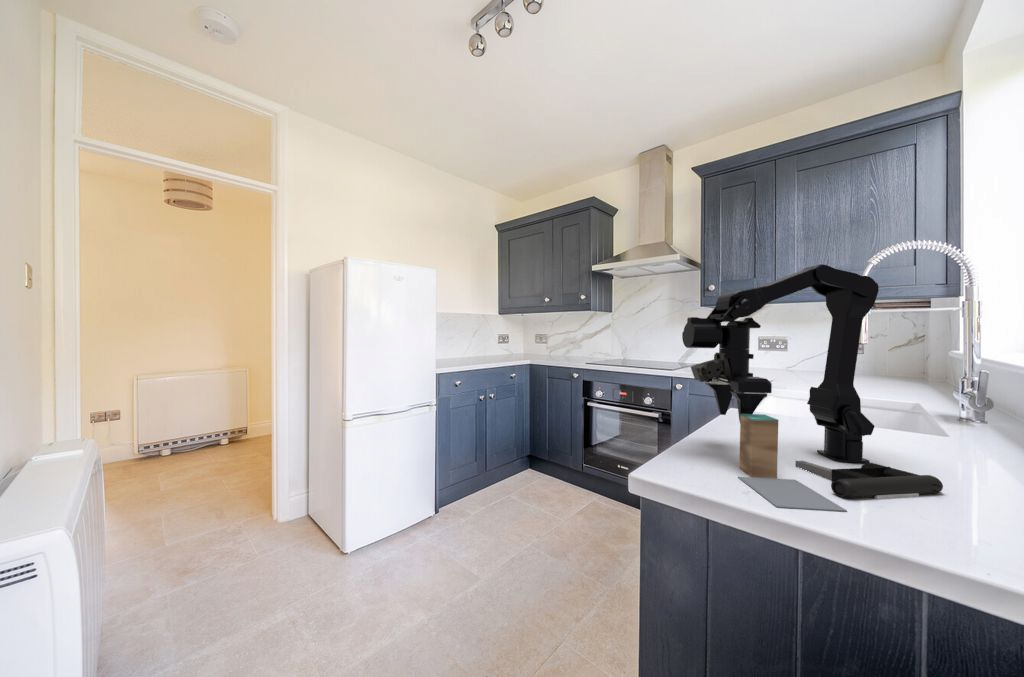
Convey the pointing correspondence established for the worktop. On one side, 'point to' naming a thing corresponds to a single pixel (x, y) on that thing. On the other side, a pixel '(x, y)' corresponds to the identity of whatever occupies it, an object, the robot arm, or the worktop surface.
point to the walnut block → (758, 445)
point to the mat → (790, 494)
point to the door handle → (875, 481)
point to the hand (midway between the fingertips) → (732, 419)
